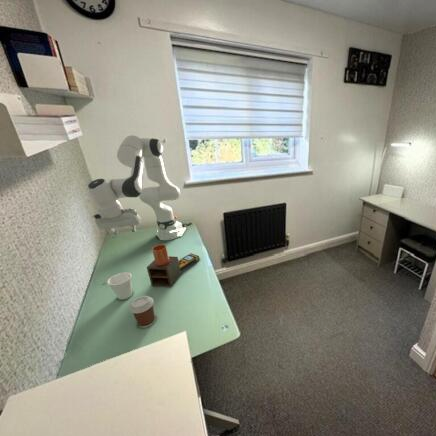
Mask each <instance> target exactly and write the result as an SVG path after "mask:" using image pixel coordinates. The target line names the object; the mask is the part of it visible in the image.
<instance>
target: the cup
mask: <svg viewBox="0 0 436 436" xmlns="http://www.w3.org/2000/svg"><path fill="white" fill-rule="evenodd" d="M106 283H107V284H108V286H109V287H110V288H111V290H112V291H113V293H114V295H115V296H116V298H117V299H118V300H127V299H129V298H131V297H132V295H133V285H132V284H133V283H132V274H131V273H130V272H125V271H124V272H119V273H116V274H114V275H112V276H111V277H109V278H108V279H107V282H106Z"/></svg>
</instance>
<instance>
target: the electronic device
mask: <svg viewBox="0 0 436 436" xmlns="http://www.w3.org/2000/svg"><path fill="white" fill-rule="evenodd" d="M178 261H179V266H180V271H181V272H183V271H184V270H186V269H187V268H189V267H190V266H192V265H193V264H195V263H196V262H198V261H200V256H199V255H198V254H194V253H191V252H190V253H189V254H187V255H185V256H184V257H182V258H180V259H178Z"/></svg>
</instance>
